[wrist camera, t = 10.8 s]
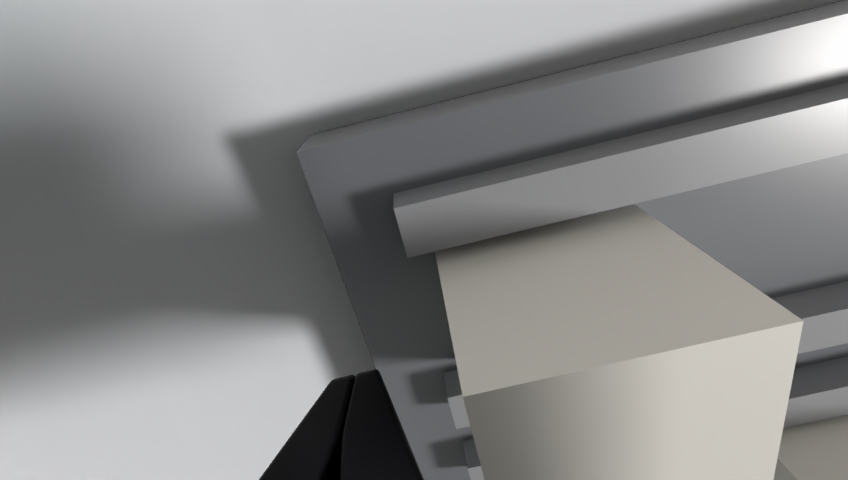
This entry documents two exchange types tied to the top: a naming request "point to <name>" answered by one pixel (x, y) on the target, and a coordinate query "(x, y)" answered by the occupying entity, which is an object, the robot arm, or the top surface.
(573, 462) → the white rectangular block
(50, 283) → the top surface
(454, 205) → the switch bank
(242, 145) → the top surface
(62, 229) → the top surface
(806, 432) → the tab
